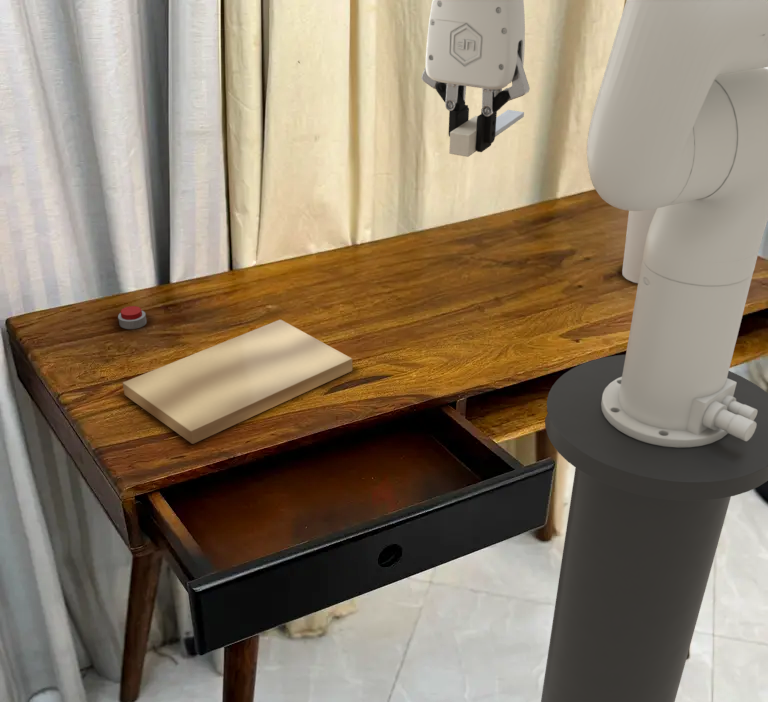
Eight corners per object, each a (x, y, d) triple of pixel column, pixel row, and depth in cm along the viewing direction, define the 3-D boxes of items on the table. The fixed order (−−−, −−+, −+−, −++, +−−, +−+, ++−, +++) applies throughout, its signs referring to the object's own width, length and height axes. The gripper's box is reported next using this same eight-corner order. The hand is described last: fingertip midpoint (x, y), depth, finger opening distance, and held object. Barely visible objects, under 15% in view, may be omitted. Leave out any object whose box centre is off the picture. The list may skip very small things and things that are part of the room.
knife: (468, 157, 110) (469, 135, 109) (448, 153, 111) (449, 132, 110) (524, 117, 122) (526, 96, 121) (506, 114, 123) (508, 94, 122)
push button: (141, 330, 110) (139, 317, 109) (115, 327, 110) (113, 315, 109) (150, 317, 112) (148, 305, 111) (125, 315, 112) (123, 303, 112)
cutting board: (352, 371, 103) (352, 358, 102) (192, 444, 92) (190, 431, 91) (281, 331, 110) (280, 319, 109) (124, 395, 99) (122, 382, 98)
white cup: (669, 290, 118) (685, 208, 112) (613, 281, 120) (626, 200, 113) (676, 267, 123) (692, 188, 116) (623, 260, 124) (635, 181, 118)
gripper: (395, -35, 102) (394, 145, 114) (540, -21, 96) (524, 167, 108) (427, -46, 108) (423, 127, 119) (567, -33, 102) (548, 148, 113)
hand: (471, 145), depth 113 cm, fingers closed on knife, 2 cm apart
